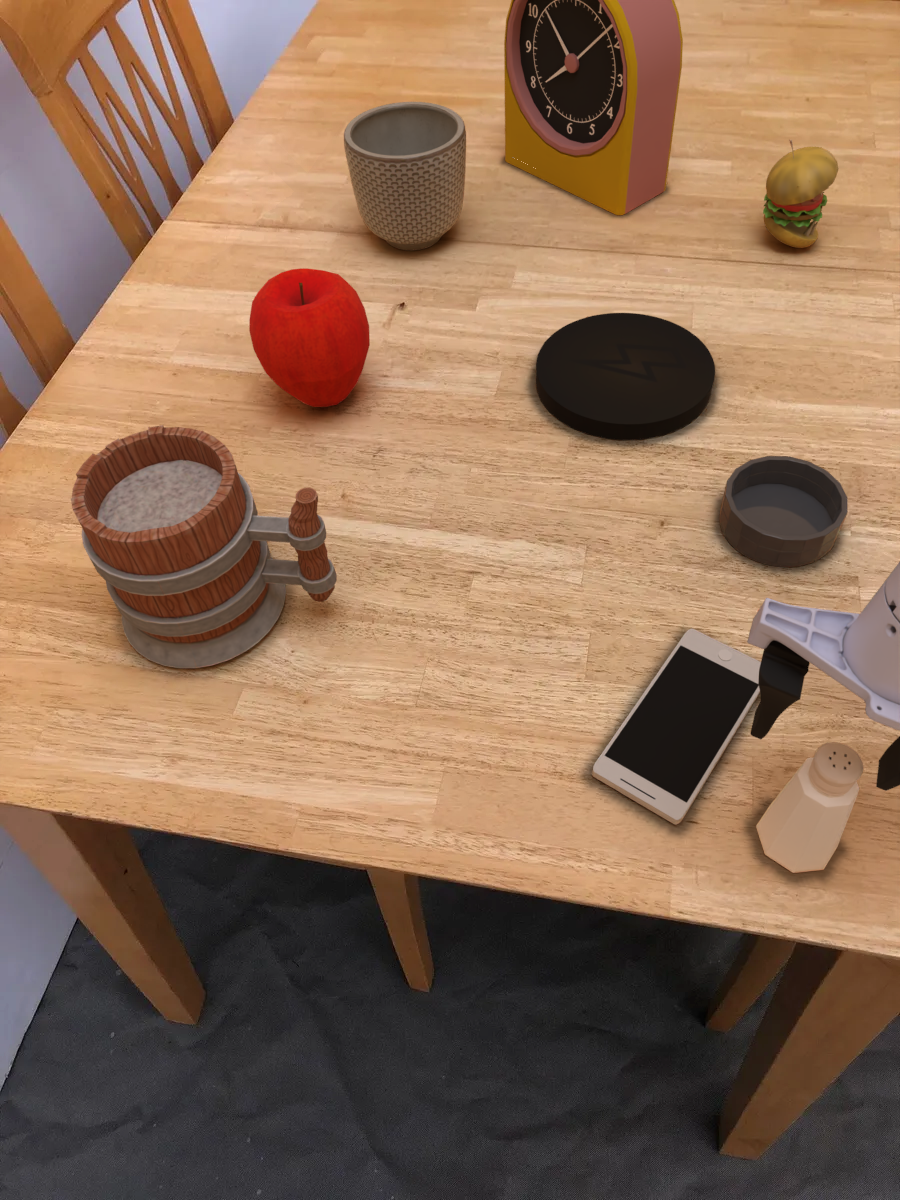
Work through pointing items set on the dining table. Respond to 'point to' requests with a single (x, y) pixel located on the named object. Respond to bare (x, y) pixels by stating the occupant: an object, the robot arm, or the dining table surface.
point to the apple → (310, 335)
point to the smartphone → (680, 726)
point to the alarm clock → (593, 95)
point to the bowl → (782, 511)
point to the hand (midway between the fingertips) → (820, 749)
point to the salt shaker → (812, 809)
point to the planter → (407, 171)
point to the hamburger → (798, 194)
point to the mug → (192, 546)
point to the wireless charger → (624, 376)
